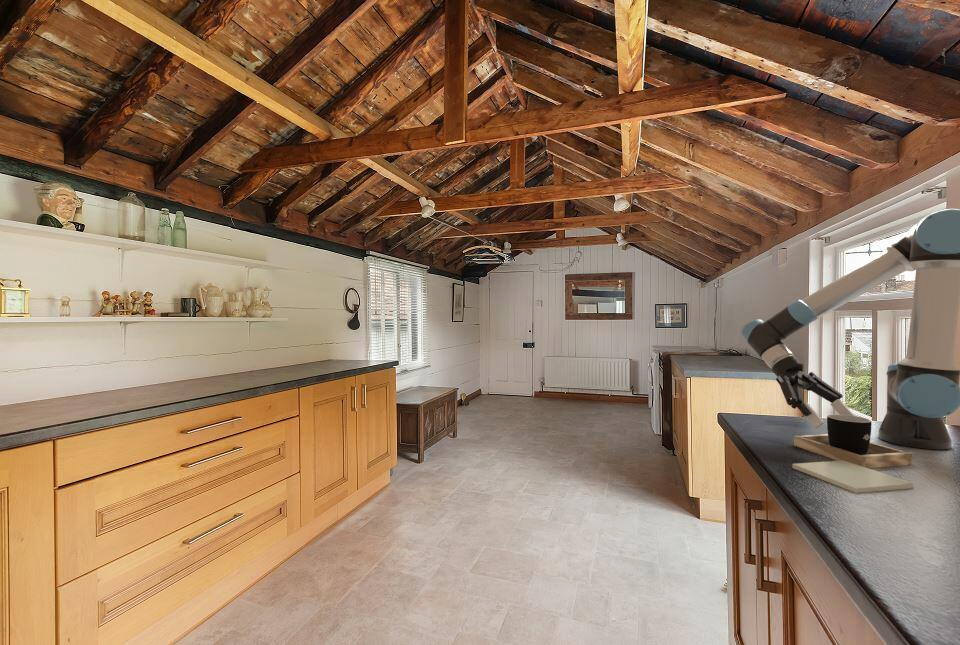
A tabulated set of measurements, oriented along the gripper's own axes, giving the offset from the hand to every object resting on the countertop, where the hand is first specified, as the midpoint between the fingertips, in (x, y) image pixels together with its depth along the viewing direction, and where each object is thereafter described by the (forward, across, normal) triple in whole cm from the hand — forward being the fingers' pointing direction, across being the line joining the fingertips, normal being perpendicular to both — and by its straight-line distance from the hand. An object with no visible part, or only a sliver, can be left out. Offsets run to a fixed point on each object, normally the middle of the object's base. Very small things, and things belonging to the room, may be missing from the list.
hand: (836, 423), depth 117 cm
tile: (+15, +18, +4) cm, 24 cm away
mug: (+8, -1, -4) cm, 9 cm away
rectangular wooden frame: (+7, -1, -4) cm, 8 cm away
